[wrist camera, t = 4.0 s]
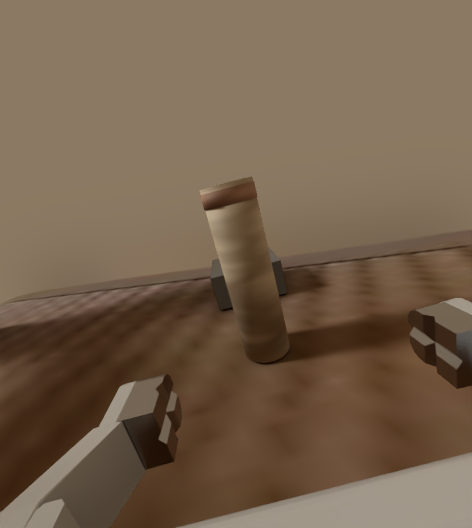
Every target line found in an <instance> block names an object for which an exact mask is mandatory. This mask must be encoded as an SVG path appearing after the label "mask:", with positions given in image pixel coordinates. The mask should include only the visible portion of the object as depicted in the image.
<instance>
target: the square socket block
mask: <svg viewBox="0 0 472 528" xmlns="http://www.w3.org/2000/svg"><path fill="white" fill-rule="evenodd" d="M268 249H269V254H270V258H271V263H272V267H273V272H274V276H275V281H276V285H277V290H278V294H279V295H281V294H285V293H287V289H286V284H285V279H284V275H283V270H282V265H281V261H280V259H279V258H278V257H277V256H276V255H275V254H274V253H273V251H272V250H271V249H270V248H269V247H268ZM210 279H211V282H212V286H213V289H214V292H215V296H216V299H217V302H218V306H219V309H220V310H223V309H227V308H231V307H233V306H232V303H231V299H230V295H229V292H228V288H227V285H226V281H225V278H224V274H223V271H222V267H221V264H220V260H219V259H216V260H213V262H212V270H211V278H210Z"/></svg>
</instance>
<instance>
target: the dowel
mask: <svg viewBox="0 0 472 528" xmlns="http://www.w3.org/2000/svg"><path fill="white" fill-rule="evenodd" d="M200 193H201V200H202V203H203V206H204V210H205V211H206V214H207V218H208V221H209V225H210V228H211V232H212V236H213V239H214V243H215V246H216V250H217V253H218V256H219V260H220V264H221V267H222V271H223V274H224V278H225V281H226V285H227V288H228V292H229V295H230V299H231V303H232V306H233V310H234V313H235V317H236V320H237V324H238V327H239V331H240V334H241V338H242V341H243V345H244V348H245V352H246V355H247V357H248V358H249V359H250V360H252V361H254V362H259V363H267V362H272V361H275V360H278V359H280V358H281V357H283V356H284V355H285V354H286V353H287V352H288V350H289V348H290V343H289V339H288V334H287V330H286V325H285V321H284V316H283V312H282V307H281V303H280V298H279V294H278V290H277V285H276V281H275V276H274V272H273V267H272V263H271V258H270V254H269V249H268V245H267V241H266V236H265V232H264V227H263V223H262V219H261V214H260V209H259V205H258V201H257V193H256V188H255V184H254V181H253V178H252V177H248V178H243V179H239V180H236V181H231V182H228V183H224V184H220V185H217V186H213V187H210V188H207V189H203V190H200Z"/></svg>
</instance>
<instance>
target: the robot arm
mask: <svg viewBox="0 0 472 528" xmlns="http://www.w3.org/2000/svg"><path fill="white" fill-rule="evenodd" d="M408 322H409V324H410V325H411V326H413V327H414V328H413V329H412V331H411V333H410V334H409V335H410V344H411V346H412V348H413V350H414V352H415V353H416V354H417V356H418V357H419V358H420V359H421V360H422V361H424V362H425V363H426V364H429V365H433V366H436V368H437V373H438V374H439V375H441V376H442V377H443V378H444V379H445V380H447V381H448V382H449V383H450V384H452V385H453V386H454V387H455V388H457V389H459V388H464V387H468V386H472V303H471V302H469V301H467V300H464V299H462V298H454V299H450V300H447V301H444V302H440V303H438V304H434V305H431V306H427V307H423V308H420V309H416V310H412V311H410V312H409V315H408ZM172 386H173V382H172V380H171V378H170V376H169V375H168V374H164V375H160V376H156V377H151V378H147V379H143V380H139V381H135V382H131V383H127V384H123V385H122V386H120V388H119V389H118V391H117V393H116V395H115V397H114V399H113V401H112V403H111V405H110V406H109V408H108V410H107V412H106V414H105V416H104V418H103V420H102V422H101V424H100V425H99V427H97V428H94V429H92V430H91V431H90V432H89V433H88V434H87V435H86V436H85V437H84V438H82V439H81V440H80V441H79V442H78V443H77V444H76V445H75V446H74V447H72V448H71V449H70V450H69V451H68V452H67V453H66V454H65V455H64V456H62V457H61V458H60V459H59V460H58V461H57V462H56V463H55V464H54V465H52V466H51V467H50V468H49V469H48V470H47V471H46V472H45V473H44V474H42V475H41V476H40V477H39V478H38V479H37V480H36V481H35V482H34V483H32V484H31V485H30V486H29V487H28V488H27V489H26V490H25V491H24V492H23V493H21V494H20V495H19V496H18V497H17V498H16V499H15V500H14V501H13V502H11V503H10V504H9V505H8V506H7V507H6V508H5V509H4V510H3V511H1V512H0V528H110V526H111V525H112V523H113V522H114V520H115V519H116V517H117V516H118V514H119V512H120V511H121V509H122V508H123V506H124V505H125V503H126V502H127V500H128V499H129V497H130V495H131V494H132V492H133V491H134V489H135V488H136V486H137V485H138V483H139V482H140V480H141V478H142V477H143V475H144V474H145V472H146V471H145V470H147V469H151V468H154V467H157V466H161V465H164V464H168V463H171V462H174V460H175V454H176V449H177V443H178V438H177V436H176V431H177V430H178V429H179V428H180V425H181V419H182V415H181V405H180V400H179V398H178V395H177V394H175V393H174V392H172ZM176 528H472V452H471V453H467V454H463V455H459V456H455V457H451V458H447V459H443V460H439V461H435V462H431V463H427V464H423V465H420V466H416V467H412V468H408V469H404V470H400V471H396V472H392V473H388V474H384V475H380V476H376V477H373V478H369V479H365V480H361V481H357V482H353V483H349V484H345V485H341V486H337V487H333V488H329V489H326V490H322V491H318V492H314V493H310V494H306V495H302V496H298V497H294V498H290V499H286V500H282V501H278V502H274V503H271V504H267V505H263V506H259V507H255V508H251V509H247V510H243V511H239V512H235V513H231V514H227V515H223V516H219V517H215V518H212V519H208V520H204V521H200V522H196V523H192V524H188V525H184V526H180V527H176Z"/></svg>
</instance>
